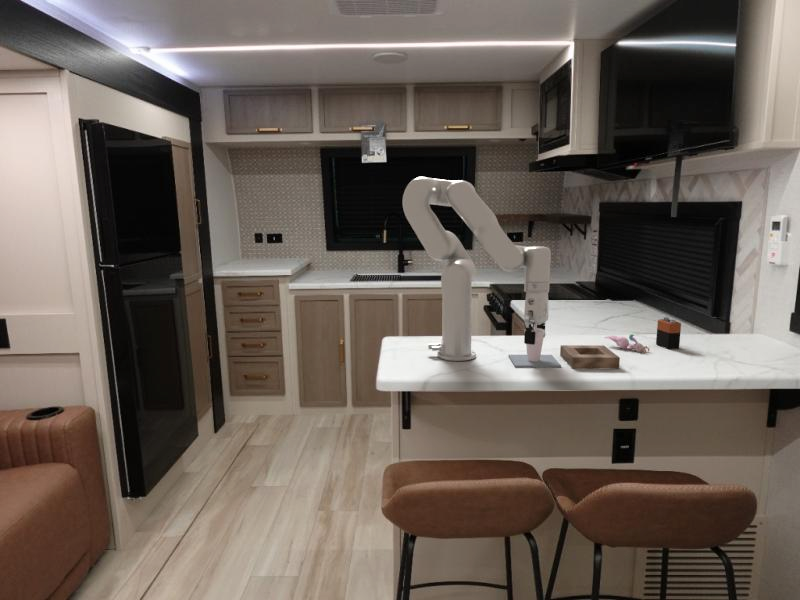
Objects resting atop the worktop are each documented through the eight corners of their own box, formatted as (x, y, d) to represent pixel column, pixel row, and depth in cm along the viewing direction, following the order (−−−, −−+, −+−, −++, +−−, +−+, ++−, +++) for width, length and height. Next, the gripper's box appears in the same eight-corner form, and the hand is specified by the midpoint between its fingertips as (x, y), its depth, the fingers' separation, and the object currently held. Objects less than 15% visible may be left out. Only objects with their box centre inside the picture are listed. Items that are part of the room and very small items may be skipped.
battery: (665, 343, 188) (668, 316, 186) (679, 348, 181) (682, 320, 179) (655, 344, 187) (657, 316, 185) (668, 349, 180) (671, 320, 179)
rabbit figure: (650, 355, 179) (608, 340, 189) (654, 338, 177) (612, 324, 187) (641, 358, 175) (600, 343, 185) (646, 342, 173) (603, 327, 183)
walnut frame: (572, 368, 160) (572, 357, 159) (560, 355, 174) (560, 345, 173) (619, 368, 159) (619, 357, 159) (603, 355, 173) (603, 345, 173)
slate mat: (514, 367, 162) (515, 365, 162) (508, 356, 173) (508, 354, 173) (561, 367, 161) (561, 365, 161) (551, 356, 173) (551, 354, 173)
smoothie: (547, 359, 167) (549, 316, 165) (538, 364, 163) (539, 319, 160) (529, 355, 172) (531, 313, 169) (519, 360, 167) (521, 316, 164)
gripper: (539, 291, 154) (537, 348, 157) (556, 284, 168) (554, 336, 171) (515, 289, 158) (513, 345, 161) (533, 282, 172) (531, 333, 175)
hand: (534, 340), depth 166 cm, fingers open, 9 cm apart
